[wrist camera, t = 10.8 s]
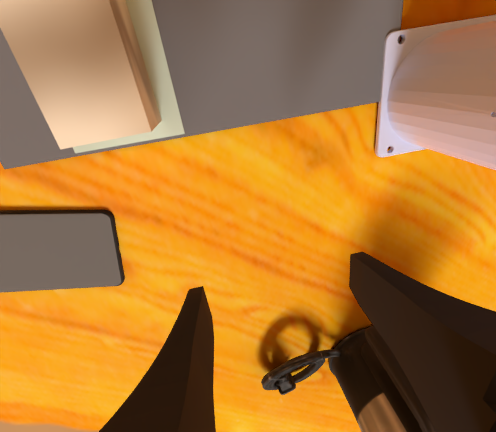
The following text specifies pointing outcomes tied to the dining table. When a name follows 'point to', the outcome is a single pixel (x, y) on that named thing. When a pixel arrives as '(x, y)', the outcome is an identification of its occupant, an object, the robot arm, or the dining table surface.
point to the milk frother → (362, 383)
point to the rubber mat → (224, 68)
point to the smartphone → (58, 250)
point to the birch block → (82, 67)
